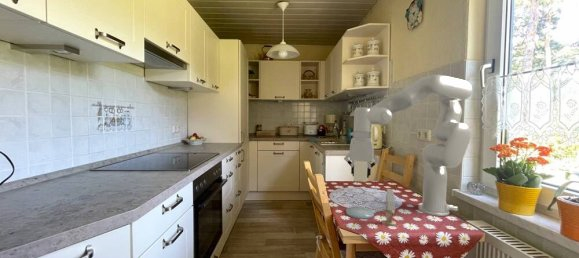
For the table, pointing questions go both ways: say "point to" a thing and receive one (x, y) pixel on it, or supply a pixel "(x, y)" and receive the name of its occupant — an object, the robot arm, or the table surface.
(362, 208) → the ceramic plate
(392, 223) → the clamp frame
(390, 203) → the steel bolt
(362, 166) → the cream block
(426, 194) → the robot arm
